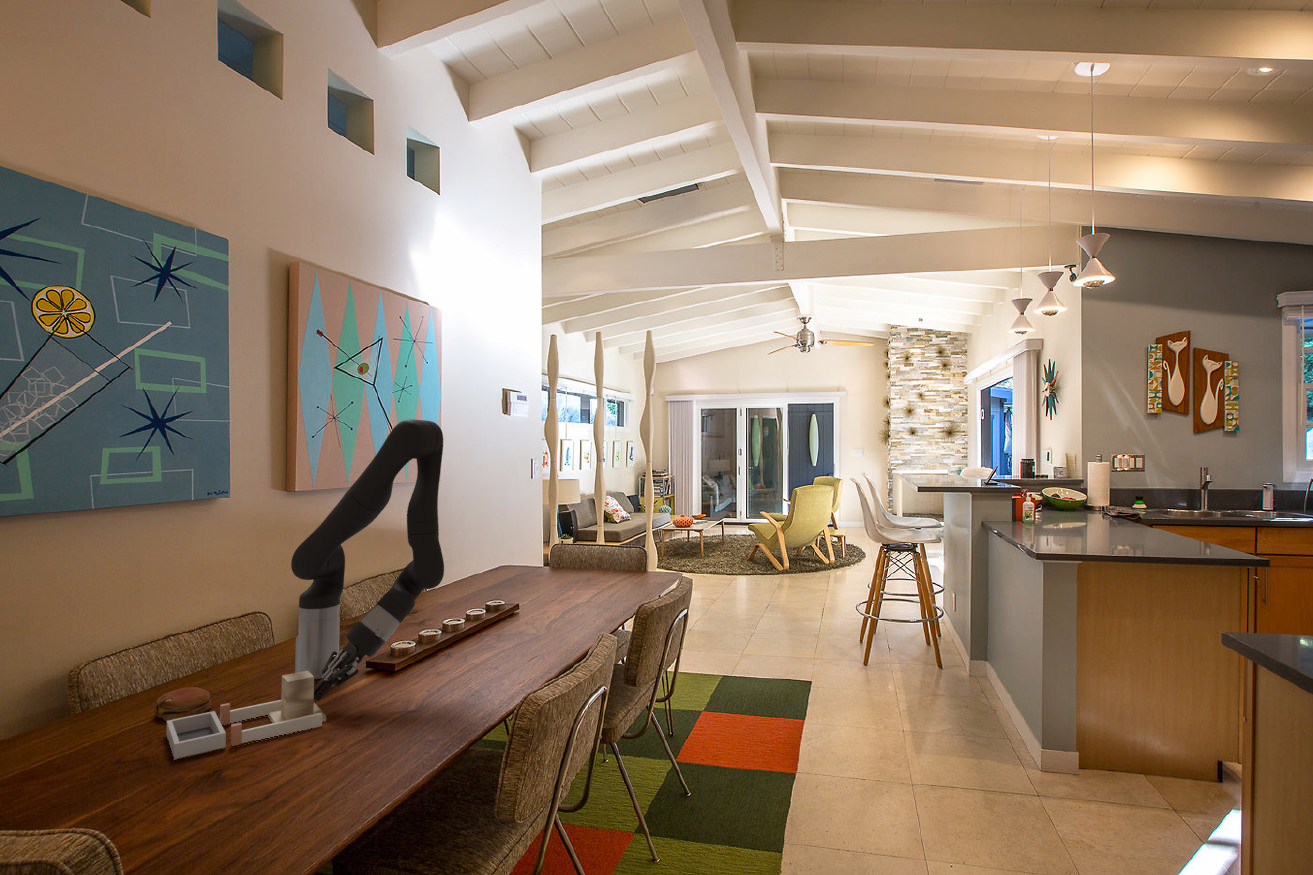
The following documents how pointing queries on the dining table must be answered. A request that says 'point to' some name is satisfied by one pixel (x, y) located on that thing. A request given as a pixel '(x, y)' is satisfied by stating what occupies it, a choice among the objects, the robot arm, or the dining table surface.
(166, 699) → the burger
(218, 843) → the dining table surface
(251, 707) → the ladder rail frame
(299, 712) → the pawn block
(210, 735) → the box
